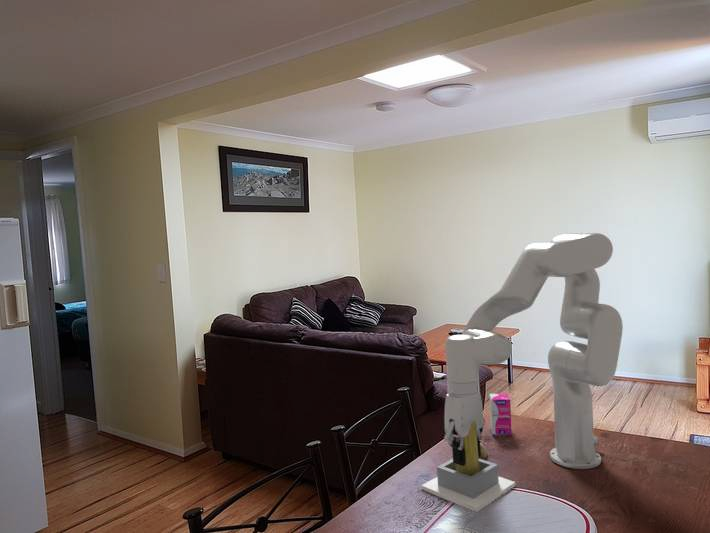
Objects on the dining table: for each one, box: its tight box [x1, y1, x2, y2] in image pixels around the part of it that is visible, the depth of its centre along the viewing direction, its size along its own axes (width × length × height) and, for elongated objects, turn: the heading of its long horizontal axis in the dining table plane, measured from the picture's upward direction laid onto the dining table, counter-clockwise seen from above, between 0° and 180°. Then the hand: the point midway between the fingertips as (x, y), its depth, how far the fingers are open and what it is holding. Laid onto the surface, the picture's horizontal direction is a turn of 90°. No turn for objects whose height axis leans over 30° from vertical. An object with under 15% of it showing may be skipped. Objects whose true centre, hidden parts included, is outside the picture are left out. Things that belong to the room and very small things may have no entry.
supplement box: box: [488, 393, 513, 437], centre depth 159 cm, size 6×6×12 cm
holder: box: [421, 458, 516, 513], centre depth 127 cm, size 16×16×6 cm
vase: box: [455, 421, 480, 476], centre depth 126 cm, size 6×6×14 cm
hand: (467, 458), depth 126 cm, fingers closed on vase, 5 cm apart
